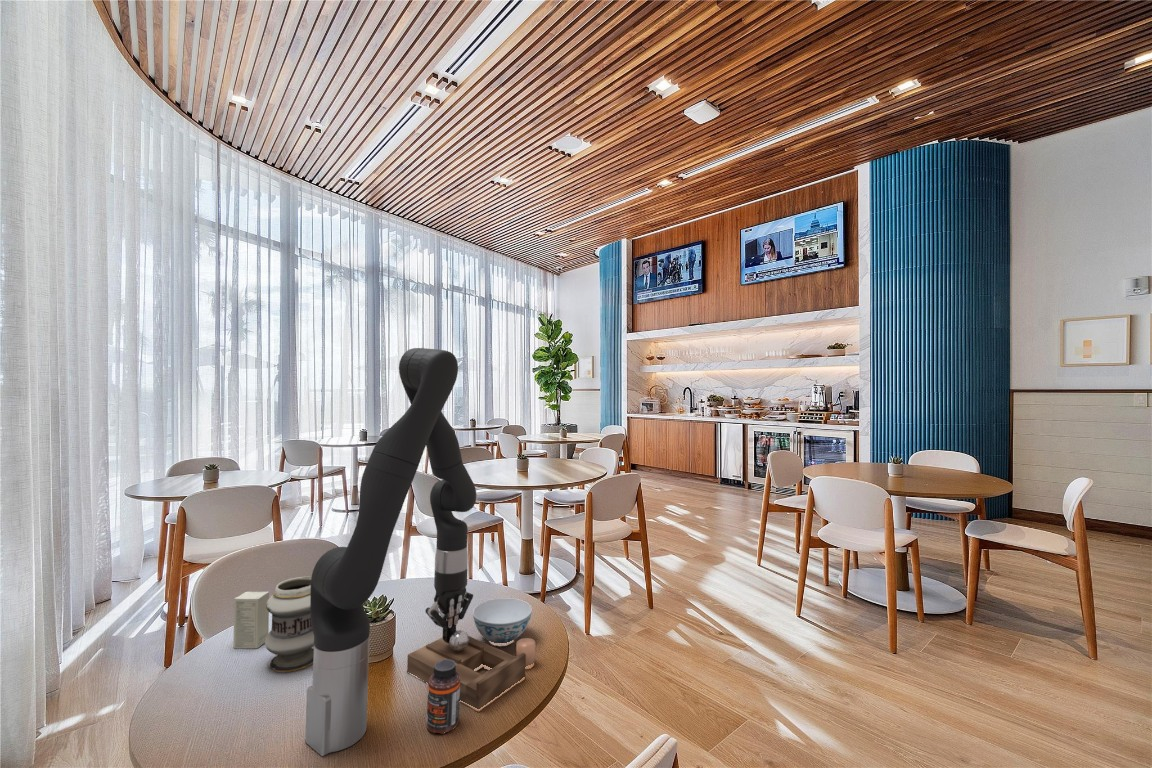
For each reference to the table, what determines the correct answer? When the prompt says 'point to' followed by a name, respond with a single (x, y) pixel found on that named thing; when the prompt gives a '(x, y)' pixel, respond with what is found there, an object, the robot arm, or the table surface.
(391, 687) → the table surface
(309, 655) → the apothecary jar
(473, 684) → the wooden box
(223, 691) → the table surface
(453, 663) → the supplement bottle
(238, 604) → the skincare box
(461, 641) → the steel ball
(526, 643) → the beige rounded cylinder
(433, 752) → the table surface
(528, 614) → the chinaware
